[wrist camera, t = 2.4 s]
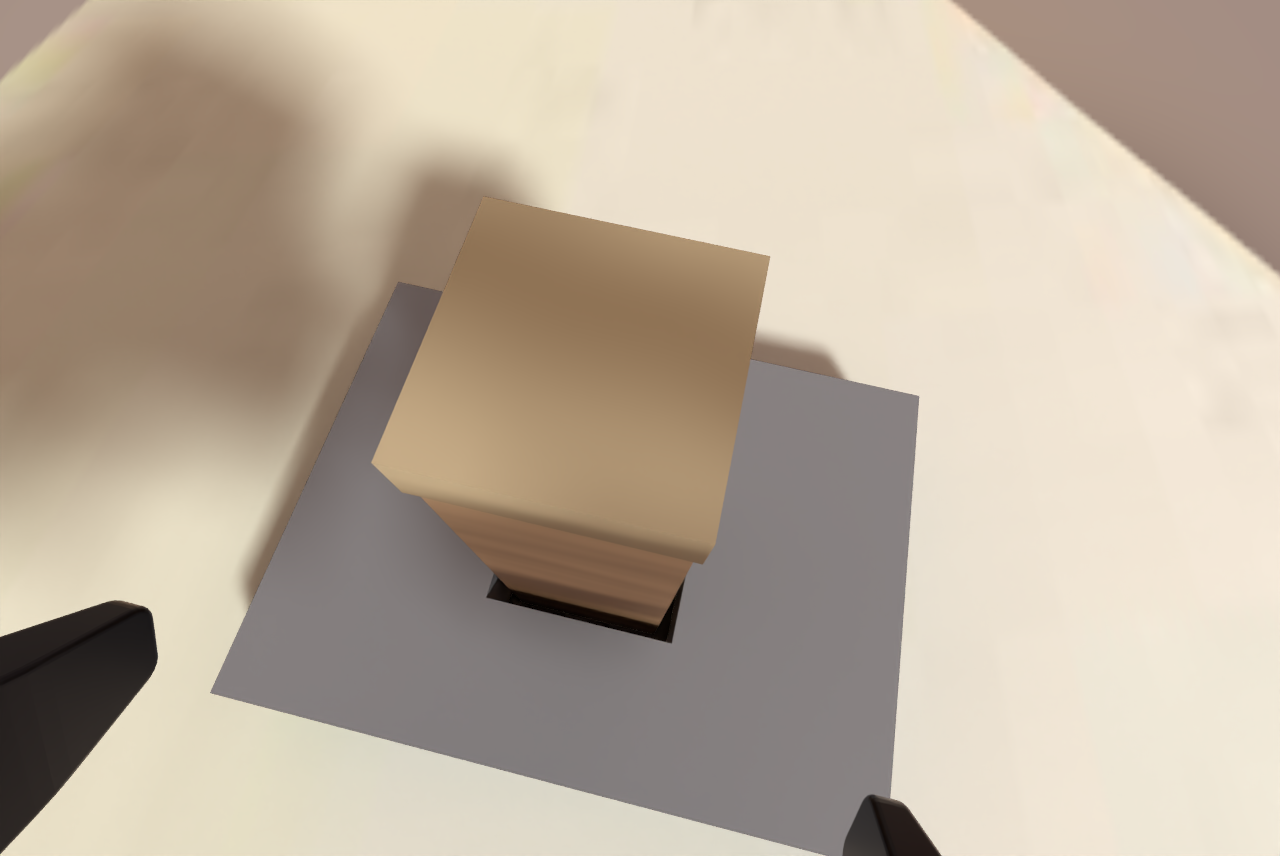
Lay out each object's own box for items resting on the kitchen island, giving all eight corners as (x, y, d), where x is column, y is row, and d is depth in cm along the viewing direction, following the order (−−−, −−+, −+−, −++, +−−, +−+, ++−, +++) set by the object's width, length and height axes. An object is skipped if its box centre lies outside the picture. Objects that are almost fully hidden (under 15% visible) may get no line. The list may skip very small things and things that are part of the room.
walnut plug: (656, 638, 19) (715, 544, 8) (518, 604, 19) (370, 462, 8) (684, 504, 21) (770, 256, 9) (557, 474, 21) (483, 196, 9)
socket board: (842, 844, 17) (884, 871, 14) (272, 694, 18) (209, 693, 15) (880, 434, 22) (919, 396, 19) (424, 332, 23) (398, 281, 20)
